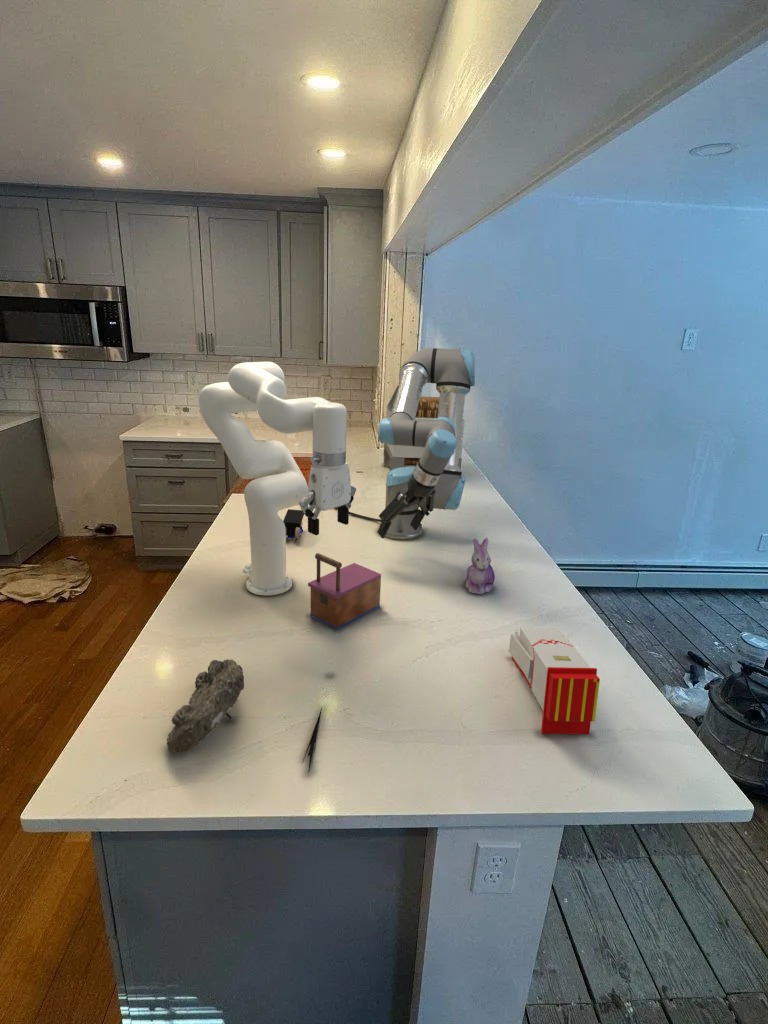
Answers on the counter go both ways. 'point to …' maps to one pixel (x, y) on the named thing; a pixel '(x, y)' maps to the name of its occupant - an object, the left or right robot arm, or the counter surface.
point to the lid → (341, 578)
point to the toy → (557, 679)
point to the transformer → (410, 454)
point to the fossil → (206, 705)
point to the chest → (345, 605)
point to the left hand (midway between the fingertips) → (328, 528)
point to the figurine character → (293, 524)
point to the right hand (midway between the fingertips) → (397, 531)
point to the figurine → (480, 569)
